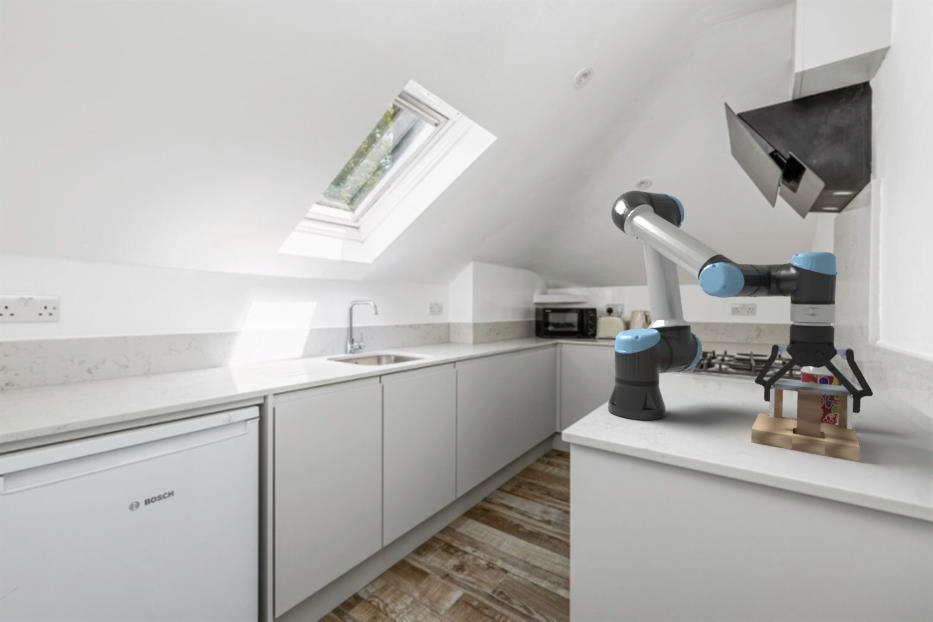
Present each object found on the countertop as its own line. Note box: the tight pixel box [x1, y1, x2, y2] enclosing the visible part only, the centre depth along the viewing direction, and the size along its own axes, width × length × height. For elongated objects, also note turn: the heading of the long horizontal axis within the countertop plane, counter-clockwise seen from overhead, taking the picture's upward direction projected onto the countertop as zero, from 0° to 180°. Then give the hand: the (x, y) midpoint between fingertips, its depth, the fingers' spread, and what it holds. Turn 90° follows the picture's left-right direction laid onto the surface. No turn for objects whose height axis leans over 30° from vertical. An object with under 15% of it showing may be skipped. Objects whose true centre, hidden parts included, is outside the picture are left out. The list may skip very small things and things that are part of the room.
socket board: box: [750, 379, 861, 463], centre depth 96 cm, size 18×16×12 cm
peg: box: [796, 390, 822, 438], centre depth 93 cm, size 4×4×12 cm
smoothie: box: [800, 359, 844, 425], centre depth 108 cm, size 8×8×20 cm
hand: (808, 421), depth 93 cm, fingers open, 12 cm apart
